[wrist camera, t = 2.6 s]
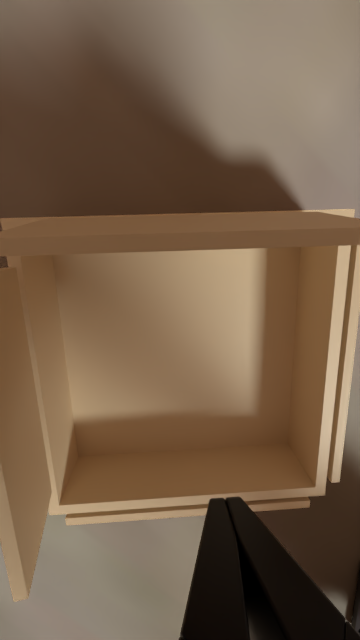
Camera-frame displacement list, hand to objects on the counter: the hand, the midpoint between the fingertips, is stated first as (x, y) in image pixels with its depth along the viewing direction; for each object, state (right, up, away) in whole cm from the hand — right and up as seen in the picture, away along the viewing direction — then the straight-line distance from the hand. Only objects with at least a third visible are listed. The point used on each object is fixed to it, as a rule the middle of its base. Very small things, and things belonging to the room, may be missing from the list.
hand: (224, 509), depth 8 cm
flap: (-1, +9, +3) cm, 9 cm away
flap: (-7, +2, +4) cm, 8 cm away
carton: (-1, +4, +8) cm, 9 cm away
